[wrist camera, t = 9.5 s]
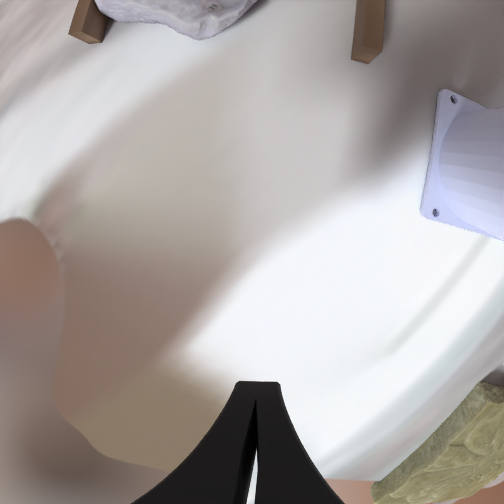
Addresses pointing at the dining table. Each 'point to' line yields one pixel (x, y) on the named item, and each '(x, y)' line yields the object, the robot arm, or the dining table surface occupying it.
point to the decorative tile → (452, 454)
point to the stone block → (179, 14)
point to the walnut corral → (364, 41)
